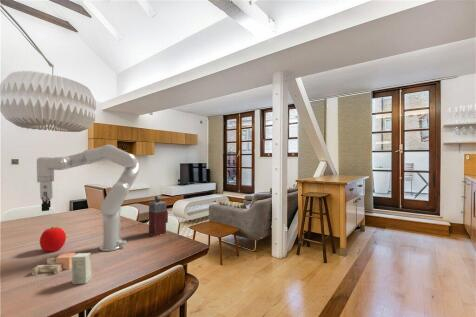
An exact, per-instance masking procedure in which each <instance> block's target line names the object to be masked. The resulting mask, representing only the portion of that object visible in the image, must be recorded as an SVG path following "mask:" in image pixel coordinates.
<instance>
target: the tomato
mask: <svg viewBox="0 0 476 317" xmlns="http://www.w3.org/2000/svg"><path fill="white" fill-rule="evenodd" d="M66 240H67V235H66V232H65V230H64V229H63V228H61V227H53V226H52V227H50V228H46V229H44V231H43V232H42V233H41V235H40V239H39V245H40V248H41V249H42V251H44V252H56V251H59V250H60V249H62V248H63V247H64V245H65V243H66Z"/></svg>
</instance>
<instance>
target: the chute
mask: <svg viewBox="0 0 476 317" xmlns="http://www.w3.org/2000/svg"><path fill="white" fill-rule="evenodd" d="M56 258H57V257H55V255H52V256H50V257H48V258H47V259H46V264H40V265H39V264H38V265H36V266H35V267H33V268H32V270H31V275H32V276H37V275H38V274H39V273H53V274H54V275H57V274H60V272H61V271H63V270H62V264H56Z"/></svg>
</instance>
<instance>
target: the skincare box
mask: <svg viewBox="0 0 476 317" xmlns="http://www.w3.org/2000/svg"><path fill="white" fill-rule="evenodd" d="M71 273H72V274H71V278H72V280H71V281H72V282H71V283H72V284H73V285H78V284H79V285H80V284H81V285H83V284H84V285H85V284H87V283H88V282H90V281H91V280H92V254H91V252H81V253H80V252H78V253H75V255H74V256H73V257H72V267H71Z"/></svg>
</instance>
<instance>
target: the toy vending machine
mask: <svg viewBox="0 0 476 317" xmlns="http://www.w3.org/2000/svg"><path fill="white" fill-rule="evenodd" d="M168 219H169V212H168V209H167V202H166V201H162V200H161V196H160V195H154V201H150V202H149V203H148V235H150V234H152V235H154V236H153V237H155V236H156V237H158V236H157V235H159V236H161V235H160V234H163V235H165V234H164V233H166V234H167V224H168V223H169V221H168ZM152 235H151V236H152Z"/></svg>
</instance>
